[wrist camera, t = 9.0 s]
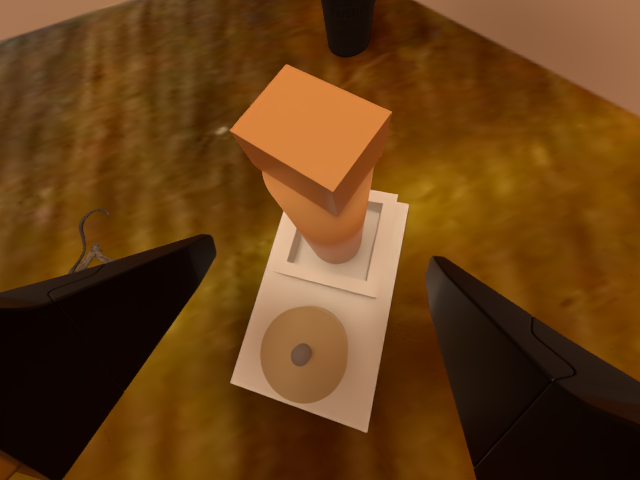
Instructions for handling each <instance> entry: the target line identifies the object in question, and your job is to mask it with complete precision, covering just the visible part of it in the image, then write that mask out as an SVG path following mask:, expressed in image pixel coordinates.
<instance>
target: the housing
mask: <svg viewBox="0 0 640 480" xmlns="http://www.w3.org/2000/svg"><path fill="white" fill-rule="evenodd" d="M397 197H398V195H397V194H391V193H386V192H380V191H374V190H370V193H369V199H368V205H367V211H366V217H365V222H364V228H363V234H362V240H361V245H360V248H359V250H358V252H357V254H356V255H355V256H354V257H353V258H352V259H350V260H349V261H347V262H344V263H341V264H331V263H327V262H325V261H323V260H322V259H320V258H319V257H318V256H317V255H316V253H315V252H314V251H313V249H312V248H311V247H310V245H309V244H308V243H307V241H306V240H305V239H304V237H303V236H302V235H301V233H300V232H299V231H298V229H297V228H296V227H295V225H294V224H293V223H292V221H291V220H290V219H289V217H288V216H287V215H286V213H285V212H283V215H282V218H281V222H280V225H279V228H278V231H277V234H276V238H275V241H274V244H273V247H272V251H271V254H270V257H269V260H268V263H267V267H266V270H265V273H264V276H263V279H262V283H261V286H260V289H259V292H258V296H257V299H256V302H255V305H254V308H253V312H252V315H251V318H250V321H249V324H248V328H247V331H246V334H245V337H244V340H243V344H242V347H241V350H240V353H239V357H238V360H237V363H236V366H235V369H234V373H233V376H232V379H231V382H230V383H232V384H235V385H237V386H240V387H243V388H246V389H248V390H251V391H254V392H256V393H259V394H262V395H265V396H267V397H270V398H273V399H276V400H278V401H281V402H284V403H287V404H289V405H292V406H295V407H298V408H300V409H303V410H306V411H308V412H311V413H314V414H317V415H319V416H322V417H325V418H328V419H330V420H333V421H336V422H339V423H341V424H344V425H347V426H350V427H352V428H355V429H358V430H360V431H363V432H366V433H367V431H368V425H369V420H370V414H371V409H372V403H373V398H374V392H375V387H376V381H377V376H378V371H379V365H380V360H381V354H382V349H383V343H384V338H385V332H386V327H387V321H388V316H389V311H390V305H391V300H392V294H393V289H394V283H395V278H396V272H397V267H398V261H399V256H400V251H401V245H402V240H403V234H404V229H405V223H406V218H407V212H408V207H409V204H405V203H399V202H397Z"/></svg>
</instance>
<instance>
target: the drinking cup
mask: <svg viewBox="0 0 640 480" xmlns="http://www.w3.org/2000/svg"><path fill="white" fill-rule="evenodd" d="M321 2H322V8H323V14H324V20H325V26H326V32H327V38H328V45H329V48H330V50H331V51H332V52H333V53H334V54H336V55H338V56H343V57H348V56H353V55H356V54H358V53H360V52H362V51H363V50H364V49H365V48H366V46H367V44H368V42H369V36H370V29H371V23H372V17H373V10H374V4H375V0H321Z"/></svg>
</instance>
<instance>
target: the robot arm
mask: <svg viewBox="0 0 640 480" xmlns="http://www.w3.org/2000/svg"><path fill="white" fill-rule="evenodd" d="M215 257H216V248H215V244H214V240H213V237H212V236H211V235H207V234H200V235H197V236H194V237H190V238H187V239H184V240H180V241H177V242H174V243H171V244H167V245H164V246H161V247H157V248H154V249H151V250H148V251H144V252H141V253H138V254H134V255H131V256H128V257H124V258H121V259H118V260H115V261H111V262H108V263H106V264H101V265H98V266H95V267H91V268H88V269H85V270H81V271H78V272H74V273H71V274H67V275H64V276H60V277H56V278H53V279H49V280H45V281H42V282H38V283H34V284H31V285H27V286H23V287H19V288H16V289H12V290H8V291H5V292H1V293H0V480H9V479H10V478H11V477H12V476H13V475H14V474H15V473H16V472H18V473H22V474H25V475H28V476H31V477H35V478H38V479H41V480H62V479H63V478H64V477H65V475H66V474H67V473H68V471H69V470H70V468H71V467H72V466H73V464H74V463H75V461H76V460H77V458H78V457H79V456H80V454H81V453H82V451H83V450H84V449H85V447H86V446H87V444H88V443H89V441H90V440H91V439H92V437H93V436H94V434H95V433H96V432H97V430H98V429H99V427H100V426H101V424H102V423H103V422H104V420H105V419H106V417H107V416H108V415H109V413H110V412H111V410H112V409H113V407H114V406H115V405H116V403H117V402H118V400H119V399H120V397H121V396H122V395H123V393H124V391H125V390H126V389H127V387H128V386H129V384H130V383H131V382H132V380H133V379H134V377H135V376H136V374H137V373H138V372H139V370H140V369H141V367H142V366H143V365H144V363H145V362H146V360H147V359H148V357H149V356H150V355H151V353H152V352H153V350H154V349H155V348H156V346H157V345H158V343H159V342H160V340H161V339H162V338H163V336H164V335H165V333H166V332H167V331H168V329H169V328H170V326H171V325H172V323H173V322H174V321H175V319H176V318H177V316H178V315H179V314H180V312H181V311H182V309H183V308H184V306H185V305H186V304H187V302H188V301H189V299H190V298H191V297H192V295H193V294H194V292H195V291H196V289H197V288H198V286H199V285H200V283H201V282H202V280H203V278H204V276H205V275H206V273H207V271H208V269H209V268H210V266H211V264H212V262H213V260H214V259H215ZM426 286H427V292H428V299H429V306H430V312H431V317H432V321H433V325H434V328H435V332H436V335H437V339H438V342H439V346H440V350H441V353H442V357H443V360H444V364H445V368H446V371H447V375H448V378H449V382H450V385H451V389H452V393H453V396H454V400H455V403H456V407H457V411H458V414H459V418H460V421H461V425H462V428H463V432H464V436H465V439H466V443H467V446H468V450H469V454H470V457H471V461H472V464H473V467H475V468H474V472H475V476H476V479H477V480H640V382H639V381H637V380H636V379H634V378H632V377H630V376H629V375H627V374H625V373H624V372H622V371H620V370H619V369H617V368H615V367H614V366H612V365H610V364H609V363H607V362H605V361H604V360H602V359H600V358H599V357H597V356H595V355H594V354H592V353H590V352H589V351H587V350H585V349H584V348H582V347H581V346H579V345H577V344H576V343H574V342H572V341H571V340H569V339H567V338H566V337H564V336H563V335H561V334H560V333H558V332H557V331H555V330H553V329H552V328H550V327H549V326H547V325H546V324H544V323H543V322H541V321H540V320H538V319H537V318H535V317H532V315H531V314H529V313H528V312H526V311H525V310H523V309H522V308H520V307H519V306H517V305H516V304H514V303H513V302H511V301H510V300H508V299H507V298H505V297H504V296H502V295H501V294H499V293H497V292H496V291H494V290H493V289H491V288H490V287H488V286H487V285H485V284H484V283H482V282H481V281H479V280H478V279H476V278H475V277H473V276H472V275H470V274H469V273H467V272H466V271H464V270H463V269H461V268H460V267H458V266H457V265H455V264H454V263H452V262H451V261H449V260H448V259H446V258H445V257H441V256H432V257H431V259H430V261H429V265H428V268H427V272H426Z"/></svg>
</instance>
